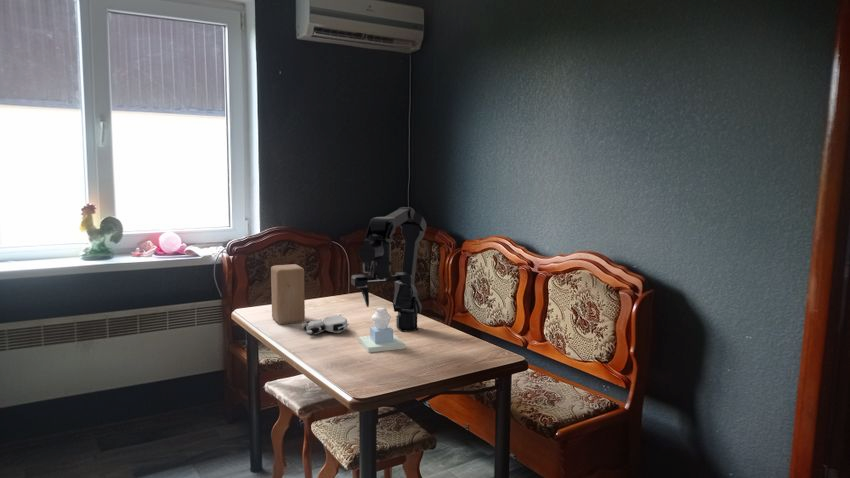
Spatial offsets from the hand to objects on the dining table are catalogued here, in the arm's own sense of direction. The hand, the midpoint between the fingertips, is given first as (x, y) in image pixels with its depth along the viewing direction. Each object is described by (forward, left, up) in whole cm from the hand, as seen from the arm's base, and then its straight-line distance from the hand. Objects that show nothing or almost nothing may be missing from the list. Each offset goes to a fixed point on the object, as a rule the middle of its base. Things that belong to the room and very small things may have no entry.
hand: (381, 305), depth 201 cm
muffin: (0, 0, -8) cm, 8 cm away
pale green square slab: (0, 0, -13) cm, 13 cm away
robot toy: (+14, -20, -13) cm, 28 cm away
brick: (0, 0, -12) cm, 12 cm away
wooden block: (+24, -39, -13) cm, 48 cm away
